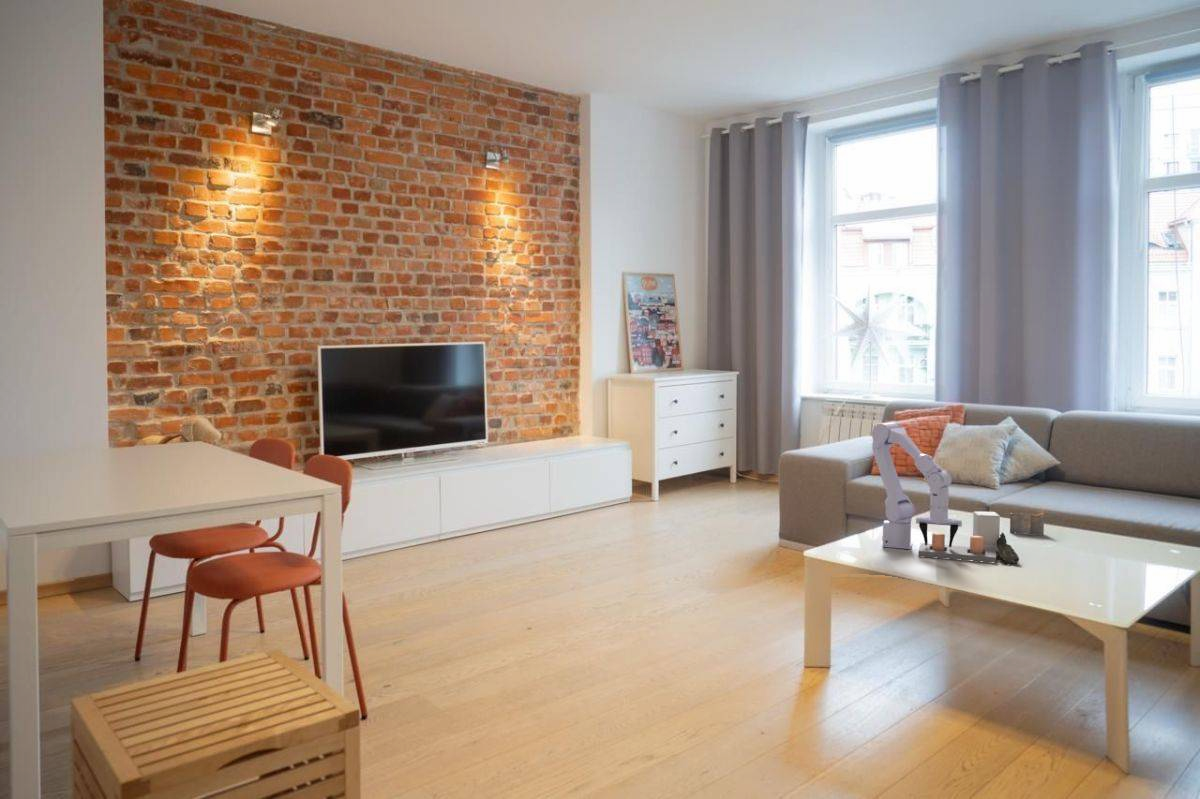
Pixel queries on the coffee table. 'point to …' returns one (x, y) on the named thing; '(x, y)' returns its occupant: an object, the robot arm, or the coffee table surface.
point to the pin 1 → (938, 541)
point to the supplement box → (987, 528)
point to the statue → (1006, 550)
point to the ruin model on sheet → (1027, 523)
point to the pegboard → (957, 553)
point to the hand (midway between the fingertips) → (938, 545)
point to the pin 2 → (976, 544)
